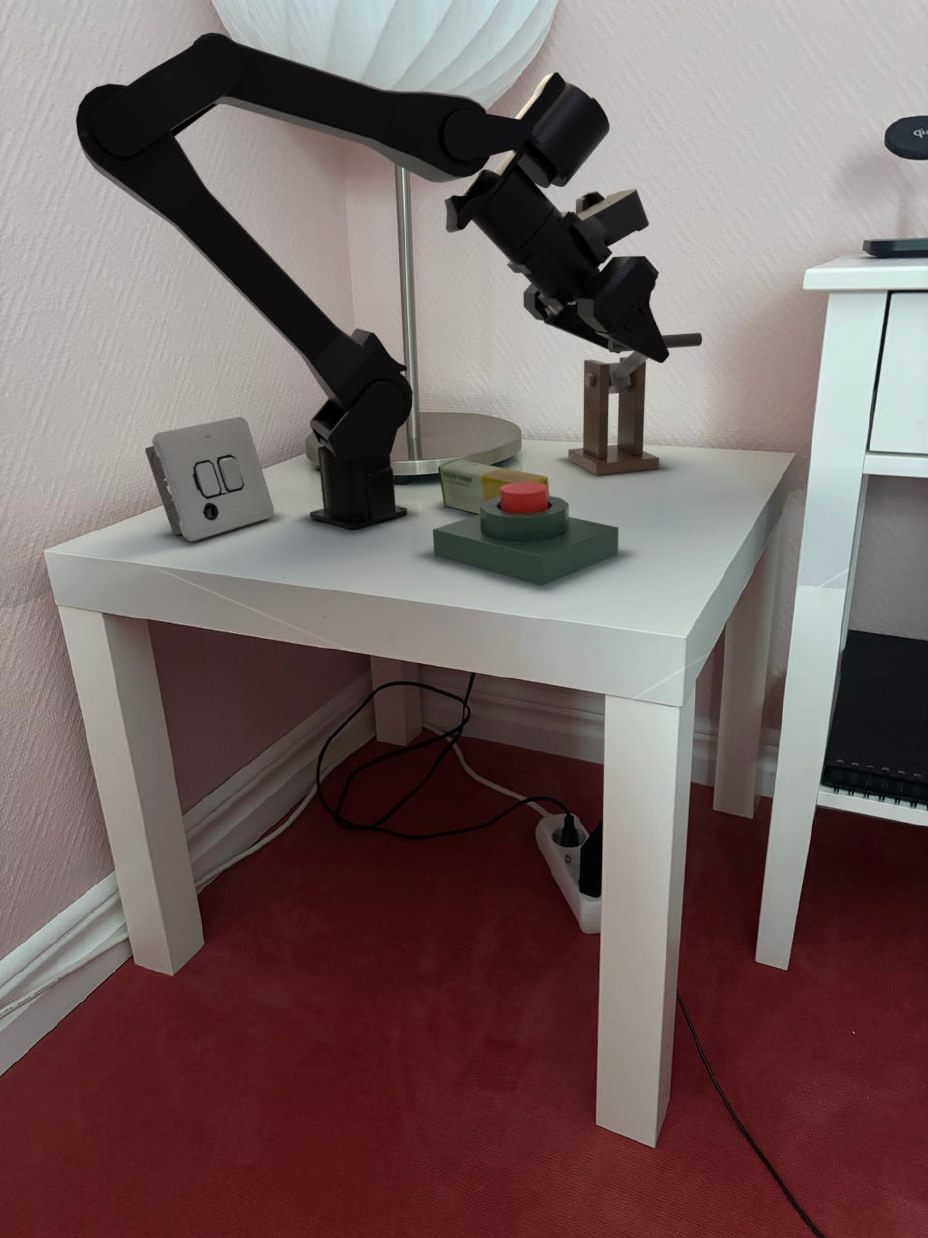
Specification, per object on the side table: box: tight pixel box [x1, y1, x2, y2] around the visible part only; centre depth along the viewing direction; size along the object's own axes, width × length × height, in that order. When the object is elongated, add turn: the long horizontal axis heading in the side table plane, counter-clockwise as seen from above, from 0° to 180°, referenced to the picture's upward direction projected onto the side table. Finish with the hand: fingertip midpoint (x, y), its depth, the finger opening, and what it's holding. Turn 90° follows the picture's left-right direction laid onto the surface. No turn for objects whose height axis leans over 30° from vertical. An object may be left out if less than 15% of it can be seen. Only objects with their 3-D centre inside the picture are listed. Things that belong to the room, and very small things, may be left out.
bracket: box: [567, 356, 660, 476], centre depth 95 cm, size 8×7×11 cm
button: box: [500, 482, 548, 513], centre depth 68 cm, size 4×4×2 cm
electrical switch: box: [144, 416, 275, 542], centre depth 79 cm, size 9×5×9 cm, turn 141°
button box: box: [432, 495, 620, 587], centre depth 69 cm, size 11×9×4 cm
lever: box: [608, 332, 703, 395], centre depth 89 cm, size 12×9×2 cm
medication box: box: [437, 458, 551, 515], centre depth 80 cm, size 12×3×4 cm, turn 41°
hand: (642, 354), depth 84 cm, fingers open, 9 cm apart
